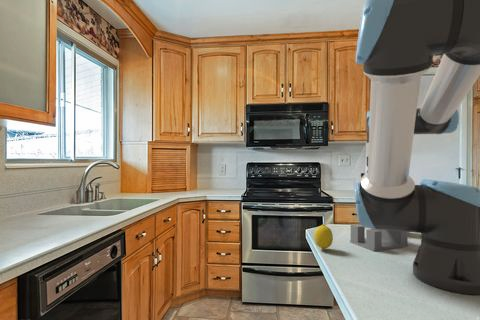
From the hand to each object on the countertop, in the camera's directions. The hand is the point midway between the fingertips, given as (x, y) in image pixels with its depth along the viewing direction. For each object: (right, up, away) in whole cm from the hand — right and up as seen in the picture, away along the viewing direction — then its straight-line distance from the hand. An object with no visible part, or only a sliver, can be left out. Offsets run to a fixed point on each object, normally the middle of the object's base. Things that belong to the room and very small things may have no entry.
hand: (378, 224), depth 93 cm
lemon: (-20, -7, -6) cm, 23 cm away
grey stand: (0, -7, 0) cm, 7 cm away
